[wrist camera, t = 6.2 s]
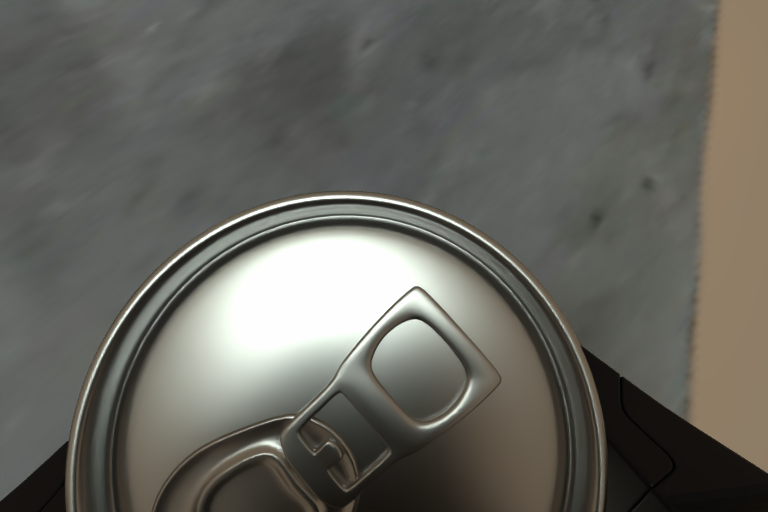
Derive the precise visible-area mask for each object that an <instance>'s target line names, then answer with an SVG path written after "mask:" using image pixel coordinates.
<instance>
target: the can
mask: <svg viewBox="0 0 768 512" xmlns="http://www.w3.org/2000/svg"><path fill="white" fill-rule="evenodd" d="M607 493H608V452H607V441H606V432H605V425H604V419H603V414H602V409H601V405H600V400H599V396H598V393H597V389H596V386H595V382H594V379H593V376H592V373H591V370H590V368H589V365H588V362H587V360H586V357H585V355H584V353H583V350H582V348H581V346H580V344H579V342H578V340H577V338H576V336H575V334H574V332H573V330H572V328H571V326H570V325H569V323H568V321H567V320H566V318H565V316H564V315H563V313H562V312H561V310H560V309H559V307H558V306H557V304H556V303H555V301H554V300H553V298H552V297H551V296H550V294H549V293H548V292H547V291H546V289H545V288H544V287H543V286H542V284H541V283H540V282H539V281H538V280H537V279H536V277H535V276H534V275H533V274H532V273H531V272H530V271H529V270H528V269H527V268H526V267H525V266H524V265H523V264H522V263H521V262H520V261H519V260H518V259H517V258H516V257H515V256H514V255H512V254H511V253H510V252H509V251H508V250H506V249H505V248H504V247H503V246H501V245H500V244H499V243H498V242H496V241H495V240H494V239H492V238H491V237H489V236H488V235H486V234H485V233H483V232H482V231H480V230H479V229H477V228H475V227H474V226H472V225H470V224H469V223H467V222H465V221H463V220H461V219H459V218H457V217H455V216H453V215H451V214H449V213H447V212H444V211H442V210H440V209H437V208H435V207H432V206H429V205H426V204H423V203H420V202H417V201H413V200H410V199H406V198H402V197H398V196H393V195H387V194H381V193H374V192H363V191H325V192H315V193H307V194H300V195H295V196H290V197H286V198H282V199H278V200H274V201H271V202H267V203H264V204H261V205H258V206H256V207H253V208H250V209H248V210H245V211H243V212H240V213H238V214H236V215H234V216H232V217H229V218H228V219H226V220H224V221H222V222H220V223H218V224H216V225H214V226H213V227H211V228H209V229H207V230H206V231H204V232H203V233H201V234H200V235H198V236H197V237H195V238H194V239H192V240H191V241H189V242H188V243H187V244H185V245H184V246H183V247H181V248H180V249H179V250H177V251H176V252H175V253H174V254H173V255H171V256H170V257H169V258H168V259H167V260H166V261H165V262H164V263H162V264H161V265H160V266H159V267H158V268H157V269H156V270H155V271H154V272H153V273H152V274H151V275H150V276H149V277H148V278H147V279H146V280H145V282H144V283H143V284H142V285H141V286H140V287H139V288H138V289H137V291H136V292H135V293H134V294H133V295H132V297H131V298H130V299H129V301H128V302H127V303H126V305H125V306H124V307H123V309H122V310H121V311H120V313H119V314H118V316H117V317H116V319H115V320H114V322H113V323H112V325H111V327H110V328H109V330H108V332H107V333H106V335H105V337H104V339H103V341H102V342H101V344H100V346H99V348H98V350H97V352H96V354H95V356H94V358H93V361H92V363H91V365H90V367H89V370H88V372H87V375H86V378H85V380H84V383H83V386H82V389H81V392H80V395H79V398H78V401H77V405H76V408H75V412H74V416H73V421H72V425H71V430H70V436H69V442H68V449H67V458H66V472H65V505H66V512H606V504H607Z"/></svg>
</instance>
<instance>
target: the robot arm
mask: <svg viewBox="0 0 768 512" xmlns="http://www.w3.org/2000/svg"><path fill="white" fill-rule="evenodd" d="M580 346H581V345H580ZM581 348H582V350H583V353H584V355H585V357H586V360H587V362H588V365H589V368H590V370H591V373H592V376H593V379H594V382H595V386H596V389H597V393H598V396H599V400H600V405H601V409H602V414H603V419H604V425H605V432H606V441H607V452H608V493H607V504H606V512H768V473H766V472H765V471H763V470H761V469H760V468H759V467H757V466H755V465H754V464H752V463H751V462H749V461H748V460H746V459H744V458H743V457H741V456H740V455H738V454H737V453H735V452H734V451H732V450H730V449H729V448H727V447H726V446H724V445H723V444H721V443H720V442H718V441H716V440H715V439H713V438H712V437H710V436H709V435H707V434H705V433H704V432H702V431H701V430H699V429H698V428H696V427H695V426H693V425H691V424H690V423H688V422H687V421H685V420H684V419H682V418H681V417H679V416H678V415H676V414H675V413H673V412H672V411H670V410H669V409H667V408H666V407H664V406H663V405H661V404H660V403H659V402H657V401H656V400H654V399H653V398H652V397H650V396H649V395H647V394H646V393H645V392H643V391H642V390H640V389H639V388H638V387H636V386H635V385H634V384H632V383H631V382H630V381H628V380H627V379H626V378H624V377H620V374H619V373H617V372H616V371H615V370H613V369H612V368H611V367H609V366H608V365H607V364H605V363H604V362H603V361H601V360H600V359H599V358H597V357H596V356H595V355H593V354H592V353H590V352H589V351H588V350H586V349H585V348H584V347H582V346H581ZM68 442H69V441H67V442H66V443H65V444H64V445H63V446H61V447H60V448H59V449H58V450H57V451H56V452H55V453H54V454H53V455H52V456H51V457H50V458H49V459H48V460H46V461H45V462H44V463H43V464H42V465H41V466H40V467H39V468H38V469H37V470H35V471H34V472H33V473H32V474H31V475H30V476H29V477H28V478H27V479H26V480H25V481H23V482H22V483H21V484H20V485H19V486H18V487H17V488H15V489H14V490H13V491H12V492H11V493H10V494H8V495H7V496H6V497H5V498H4V499H3V500H1V501H0V512H66V505H65V472H66V458H67V449H68Z"/></svg>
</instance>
